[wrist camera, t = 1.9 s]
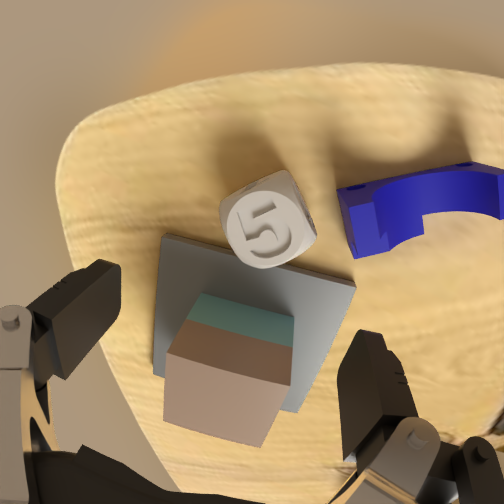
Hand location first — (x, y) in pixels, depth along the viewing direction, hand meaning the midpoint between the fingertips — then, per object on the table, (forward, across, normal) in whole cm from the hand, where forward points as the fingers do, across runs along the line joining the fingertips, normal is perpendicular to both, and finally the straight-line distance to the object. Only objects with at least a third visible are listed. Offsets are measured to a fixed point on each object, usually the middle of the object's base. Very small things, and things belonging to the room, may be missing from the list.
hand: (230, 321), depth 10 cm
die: (+15, 0, 0) cm, 15 cm away
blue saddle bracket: (+15, -11, -4) cm, 19 cm away
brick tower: (+15, 0, +12) cm, 19 cm away
